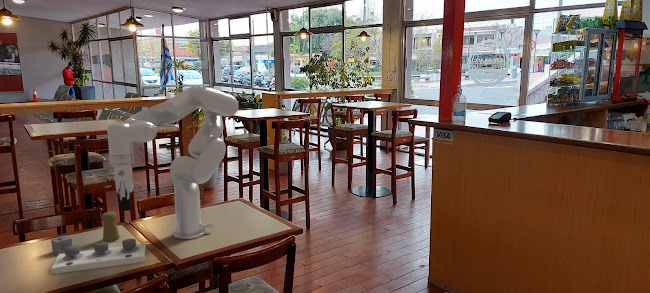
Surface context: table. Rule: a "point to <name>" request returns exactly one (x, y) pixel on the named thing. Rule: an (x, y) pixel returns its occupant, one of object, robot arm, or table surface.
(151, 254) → the table surface
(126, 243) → the button
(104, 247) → the middle button
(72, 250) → the button
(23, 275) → the table surface
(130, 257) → the button board
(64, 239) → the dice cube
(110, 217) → the cork
